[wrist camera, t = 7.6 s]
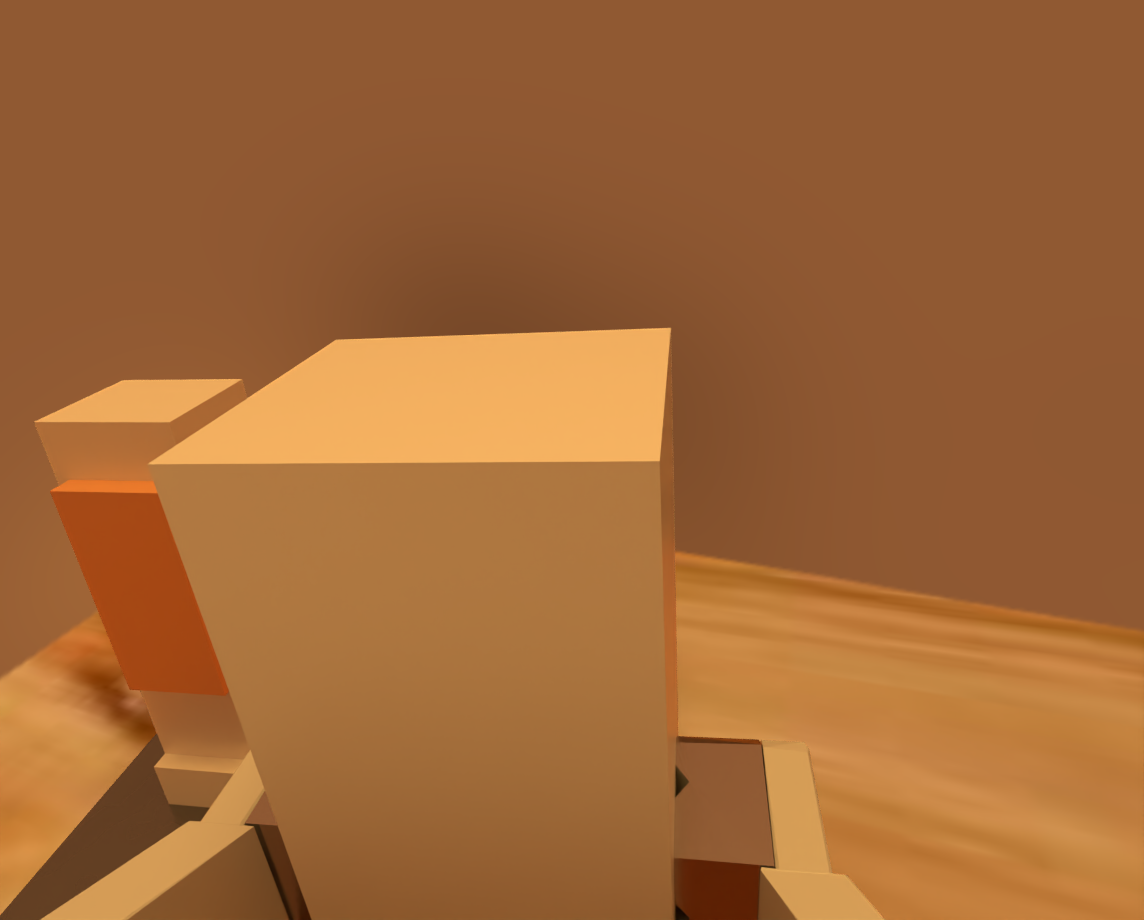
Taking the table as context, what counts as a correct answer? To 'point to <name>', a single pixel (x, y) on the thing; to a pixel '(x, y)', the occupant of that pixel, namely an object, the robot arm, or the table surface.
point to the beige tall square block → (451, 619)
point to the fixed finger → (148, 567)
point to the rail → (106, 838)
